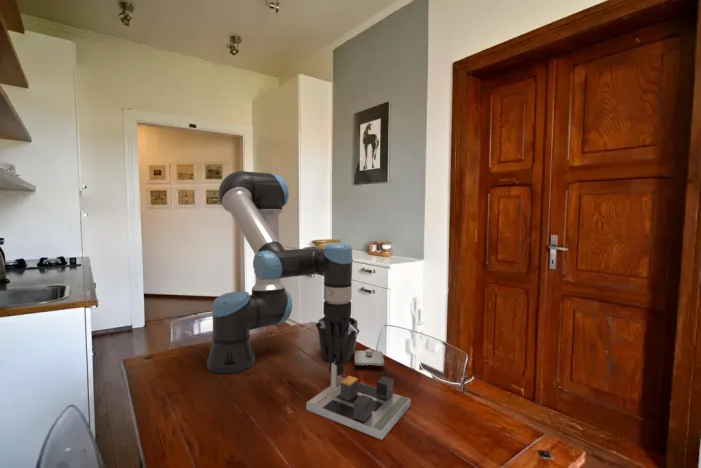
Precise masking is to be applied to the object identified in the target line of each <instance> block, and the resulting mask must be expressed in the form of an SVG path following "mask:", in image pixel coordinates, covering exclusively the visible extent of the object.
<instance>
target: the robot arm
mask: <svg viewBox="0 0 701 468" xmlns="http://www.w3.org/2000/svg"><path fill="white" fill-rule="evenodd" d="M289 195H290V193H289V186H288V183H287V182H286V180H285V179H284V177H282V176H281V175H280V174H275V173H271V172H269V173H268V172H255V171H246V170H243V171H242V170H238V171H237V170H236V171H234V172H231V173H229V174H227V176H225V177H224V179H223V180H222V181H221V182H220V185H219V187H218V198H219V202H220V204H221V206H222V207H223V209H224V210H225V211H226V212H228V213H230V214H231V217H232V218H233V220H234V221H235V223H236V225H237V226H238V227H239V230H240V231H241V233H242V235H243V236H244V238H245V240H246V241H247V243H248V245H249V247H250V248H251V250H252V252H253V254H254V256H253V260H252V267H253V273H254V274H255V284H254V286H252V287H251V294H250V293H249V292H248V291H243V290H241V291H240V290H239V291H230V292H226V293H223V294H221V295H218V297H216V298H215V299H214V301H213V303H212V313H211V315H212V344H211V348H210V351H209V355H208V357H207V359H206V360H207V361H206V367H207V370H209V371H210V372H212V373H215V374H216V373H217V374H235V373H238V372H239V373H240V372H242V371H245V370H248V369H250V368H251V367H252V366H254V364H255V363H256V362H255V361H256V355H255V352H254V348H253V345H252V343H251V342H252V341H251V340H250V338H251V337H250V333H251V332H250V331H252V330H255V329H261V328H265V327H271V326H276V325H277V326H278V325H279V324H282V323H285V322H286V321H288V319H289V318H290V316H291V314H292V309H293V299H292V297H291V293H290V292H289V291H288V290H286V286H285V285H284V284H283V283H282V282H281V279H285V278H286V279H287V278H293V277H295V278H296V277H302V276H311V275H317V276H322V277H323V278H324V279H323V299H324V301H323V317H324V318H323V317H322V318H323V321H321V322H319V323H318V322H317V323H315V327H316V329H317V332H318V331H319V336H320V342H321V347H322V352H321V353H322V357H323V359H326V360H327V361H328V363H329V364H328V369H329V370H328V372H329V374H330V385H331V387H334V388H336V387H338V386H339V385H340V384H341V378H342V375H343V374H344V369H345V367H344V366H345V364H347V363H348V362H349V361H351V357H352V354H353V353H352V351H353V347H354V342H355V338H356V336H358V334H359V333H360V329H359V328H357V329H355V328H354V327H353V326H352V322H351V320H350V317H351V316H352V302H351V300H352V298H353V297H352V296H353V295H352V294H353V293H352V291H353V290H352V288H353V287H352V285H353V284H352V283H353V280H352V279H353V278H352V277H353V261H354V259H353V248H352V246H351V245H350V244H348V243H341V242H339V243H338V242H336V243H335V242H334V243H333V242H332V243H327V244H325V246H324V248H320V247H317V246H316V247H315V246H306V247H303V248H298V249H297V248H296V249H295V248H294V249H286V248H284V246H283V244H281V242H280V229H279V228H280V226H279V216H280V215H281V213H282V212H283V207H285V206H286V205H287V203H288V200H289V197H290V196H289ZM327 330H328V331H327ZM348 330H349V332H348V335H349V336H348V338H347V341H346V345H345V337H346V332H347V331H348ZM356 339H357V338H356ZM353 352H354V351H353Z"/></svg>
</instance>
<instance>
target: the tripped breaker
mask: <svg viewBox="0 0 701 468" xmlns="http://www.w3.org/2000/svg"><path fill="white" fill-rule="evenodd" d="M344 378H345V379H344V380H342V381H341V392H340V398H343V399H346V400H349V401H350V400H352V399H353V398H354V397H355V396H356V395H358V382H359V380H358V378H357V377H355V376H351V375H348V376H347V377H344Z"/></svg>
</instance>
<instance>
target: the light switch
mask: <svg viewBox="0 0 701 468" xmlns="http://www.w3.org/2000/svg"><path fill="white" fill-rule="evenodd" d="M353 353H354V365H356V366H364V365H367V366H368V365H373V367H376V366H382V367H383V366H384V365H385V360H384V354H383V352H382V351H380V350H379V351H378V350H372V349H371V348H369V349H365V350H354V351H353ZM374 365H375V366H374ZM368 367H369V366H368Z"/></svg>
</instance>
